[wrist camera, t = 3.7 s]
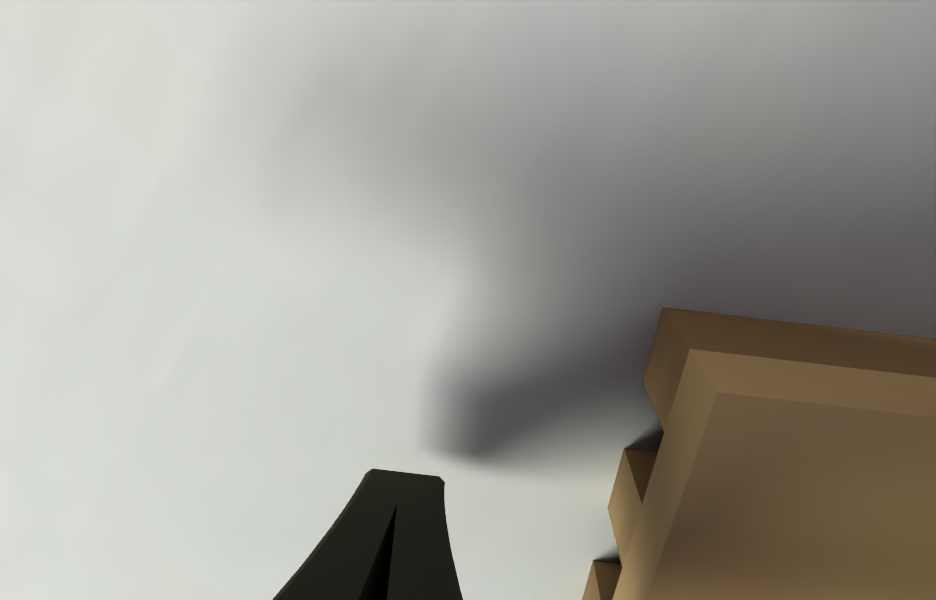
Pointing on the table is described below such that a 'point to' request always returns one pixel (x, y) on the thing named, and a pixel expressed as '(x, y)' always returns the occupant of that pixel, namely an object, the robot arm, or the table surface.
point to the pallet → (778, 467)
